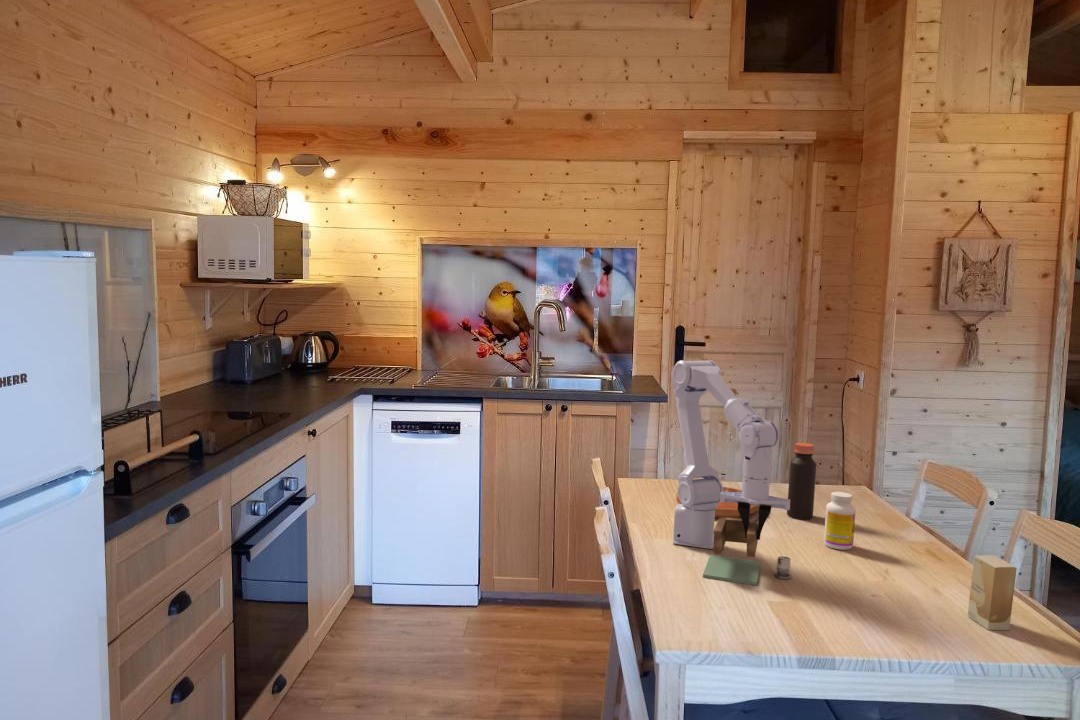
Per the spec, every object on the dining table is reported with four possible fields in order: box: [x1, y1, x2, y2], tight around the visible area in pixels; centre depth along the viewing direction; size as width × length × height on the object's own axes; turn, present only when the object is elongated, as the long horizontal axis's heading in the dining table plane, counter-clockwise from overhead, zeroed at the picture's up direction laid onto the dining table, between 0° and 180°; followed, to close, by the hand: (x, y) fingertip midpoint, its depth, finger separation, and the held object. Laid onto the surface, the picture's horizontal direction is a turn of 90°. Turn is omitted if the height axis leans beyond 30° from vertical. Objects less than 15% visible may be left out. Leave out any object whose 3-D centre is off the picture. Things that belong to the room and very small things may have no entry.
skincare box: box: [967, 554, 1017, 631], centre depth 140 cm, size 6×4×12 cm
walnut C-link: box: [713, 517, 759, 558], centre depth 163 cm, size 8×11×5 cm
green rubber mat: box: [702, 554, 761, 586], centre depth 163 cm, size 11×13×1 cm
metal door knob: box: [774, 555, 792, 581], centre depth 160 cm, size 3×3×4 cm
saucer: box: [675, 486, 759, 519], centre depth 210 cm, size 23×23×4 cm
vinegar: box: [786, 442, 817, 521], centre depth 204 cm, size 7×7×20 cm
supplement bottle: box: [823, 491, 856, 551], centre depth 181 cm, size 7×7×13 cm
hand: (752, 537), depth 163 cm, fingers closed on walnut C-link
